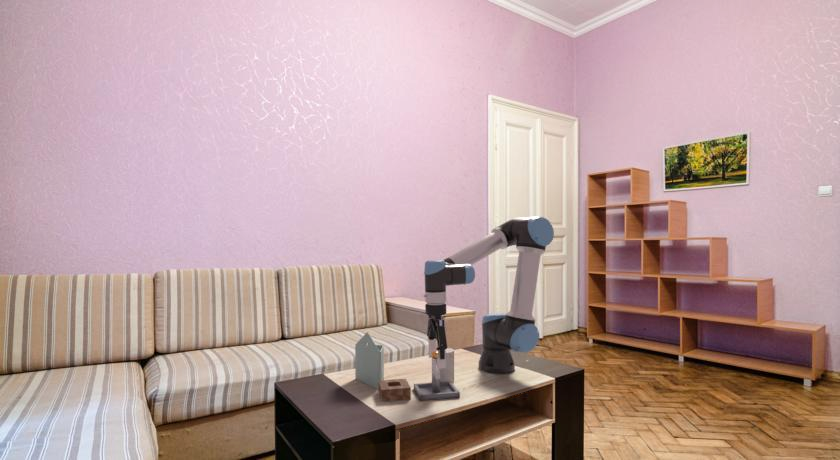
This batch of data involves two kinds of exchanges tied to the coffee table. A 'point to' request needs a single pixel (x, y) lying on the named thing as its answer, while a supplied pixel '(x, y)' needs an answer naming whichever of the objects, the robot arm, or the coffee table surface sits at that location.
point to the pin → (435, 373)
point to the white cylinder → (448, 367)
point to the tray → (445, 392)
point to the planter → (369, 361)
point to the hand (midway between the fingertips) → (437, 362)
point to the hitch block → (394, 390)
